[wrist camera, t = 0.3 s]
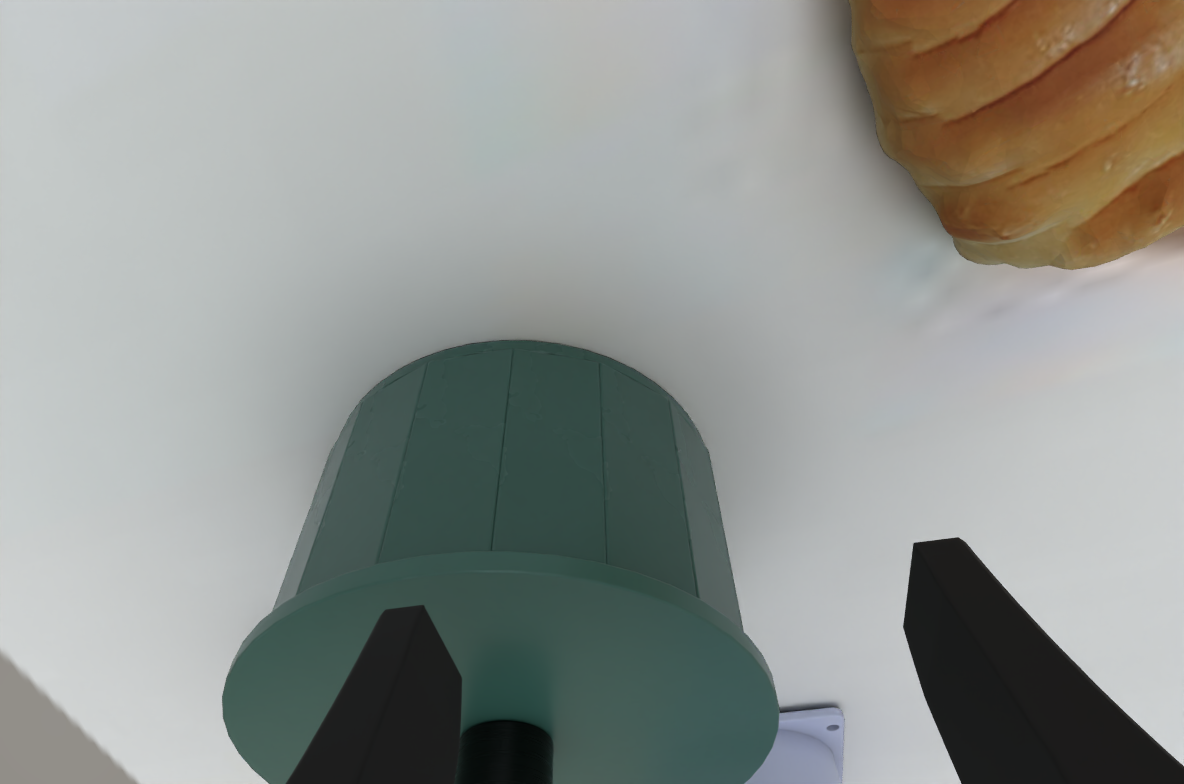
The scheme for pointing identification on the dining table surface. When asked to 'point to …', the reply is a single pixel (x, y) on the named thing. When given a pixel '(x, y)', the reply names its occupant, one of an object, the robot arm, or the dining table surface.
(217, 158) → the dining table surface
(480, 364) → the pot
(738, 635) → the pot lid
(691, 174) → the dining table surface
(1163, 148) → the pastry
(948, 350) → the dining table surface
